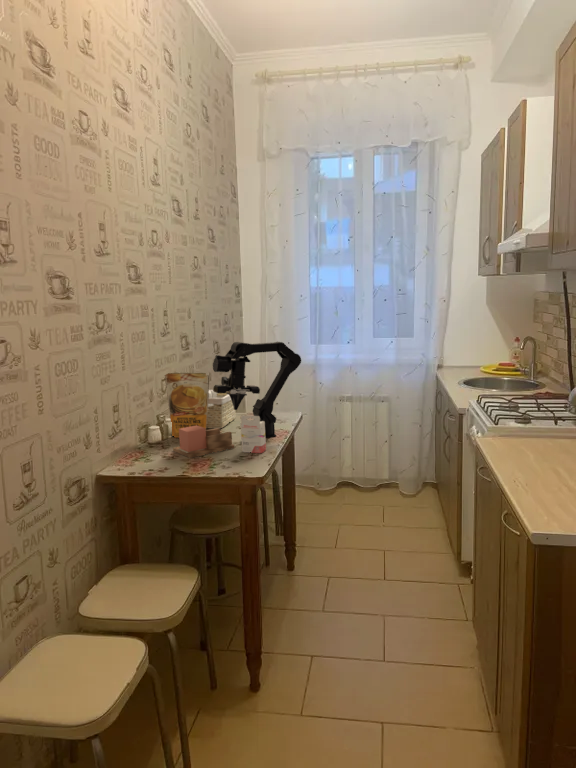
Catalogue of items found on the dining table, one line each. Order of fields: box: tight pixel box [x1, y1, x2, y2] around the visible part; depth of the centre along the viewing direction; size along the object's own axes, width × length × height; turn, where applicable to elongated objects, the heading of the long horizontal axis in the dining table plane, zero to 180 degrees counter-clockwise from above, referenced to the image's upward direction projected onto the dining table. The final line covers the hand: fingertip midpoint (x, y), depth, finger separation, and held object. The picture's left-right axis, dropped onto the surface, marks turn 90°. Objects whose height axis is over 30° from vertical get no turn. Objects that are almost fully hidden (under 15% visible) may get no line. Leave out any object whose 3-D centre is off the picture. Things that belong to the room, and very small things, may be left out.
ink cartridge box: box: [240, 414, 267, 454], centre depth 232 cm, size 9×5×15 cm, turn 70°
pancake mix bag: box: [164, 372, 210, 439], centre depth 257 cm, size 7×19×28 cm, turn 81°
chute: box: [172, 428, 235, 459], centre depth 237 cm, size 20×14×6 cm
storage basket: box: [206, 389, 237, 429], centre depth 281 cm, size 24×16×15 cm
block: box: [178, 425, 207, 452], centre depth 234 cm, size 8×7×8 cm
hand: (235, 409), depth 247 cm, fingers closed
